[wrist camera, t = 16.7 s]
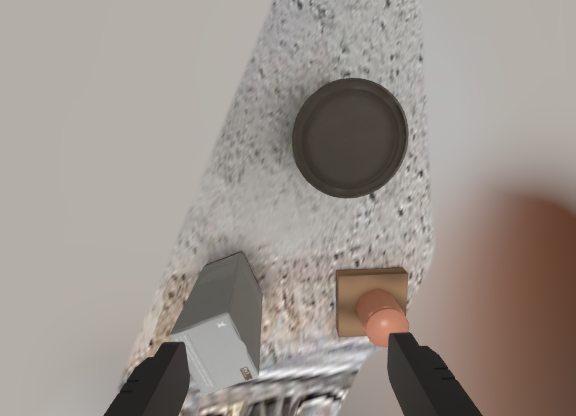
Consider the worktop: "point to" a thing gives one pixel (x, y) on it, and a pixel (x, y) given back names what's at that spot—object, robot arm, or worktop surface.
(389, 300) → the cap
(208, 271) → the skincare box
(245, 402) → the worktop surface
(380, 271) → the peg block
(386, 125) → the coffee can
